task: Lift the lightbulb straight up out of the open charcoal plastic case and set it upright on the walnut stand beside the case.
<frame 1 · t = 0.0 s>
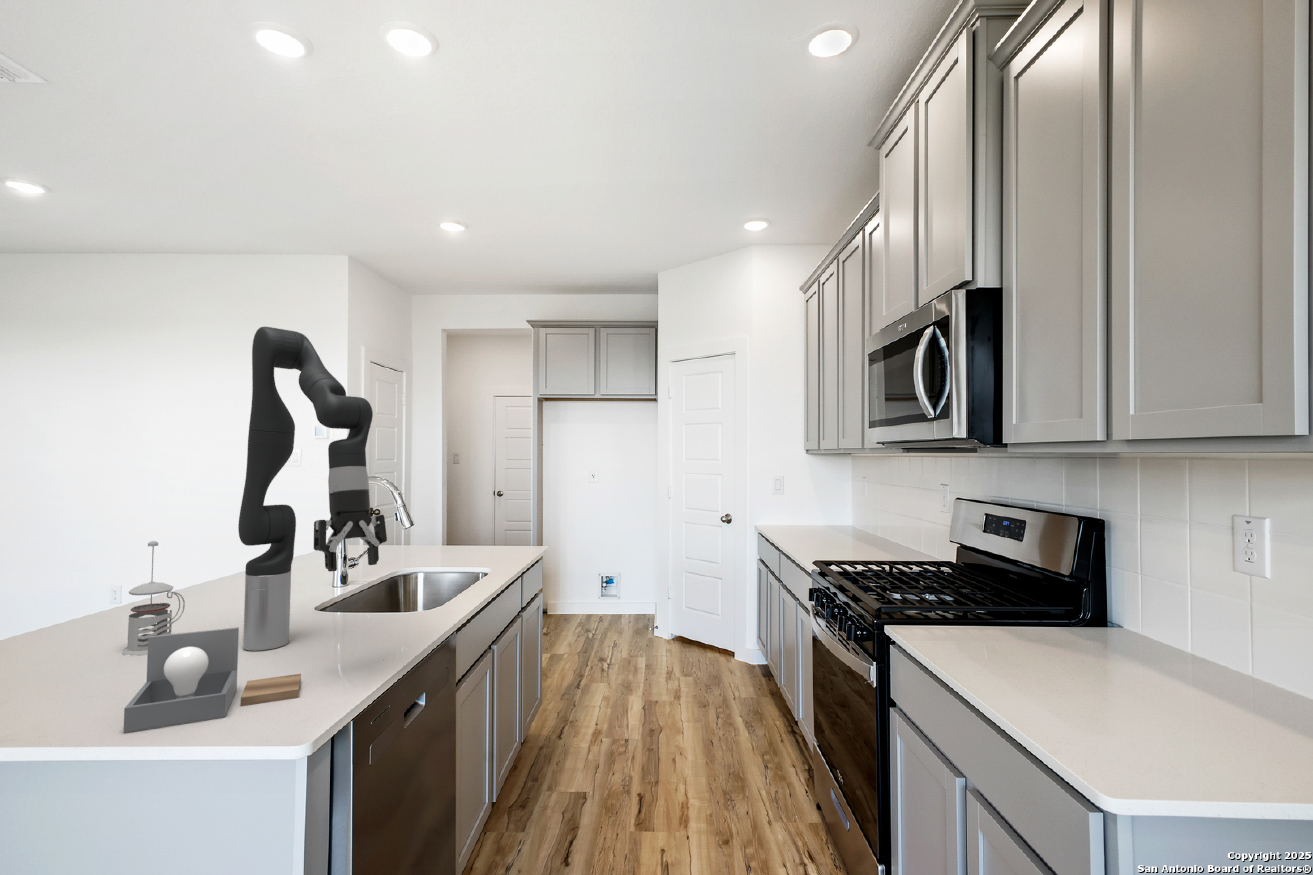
hand: (353, 567, 124), 22 cm above the worktop, tool pointing down, fingers open, 8 cm apart
stand: (272, 692, 115), on the worktop
french press: (153, 648, 141), on the worktop
lightbulb: (184, 710, 107), resting in case
case: (184, 709, 107), on the worktop
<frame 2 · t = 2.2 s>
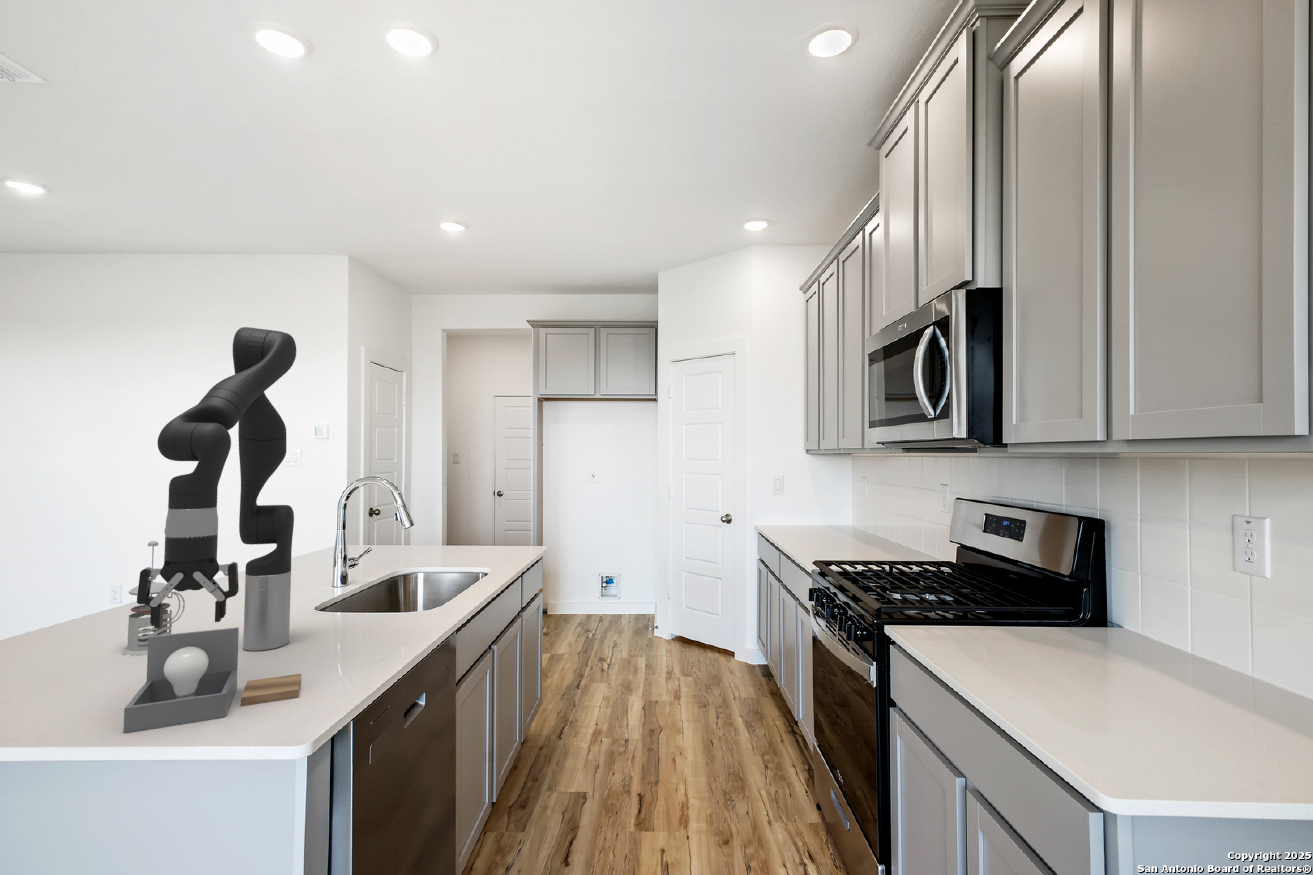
hand: (188, 624, 108), 15 cm above the worktop, tool pointing down, fingers open, 8 cm apart
nothing on the worktop moved.
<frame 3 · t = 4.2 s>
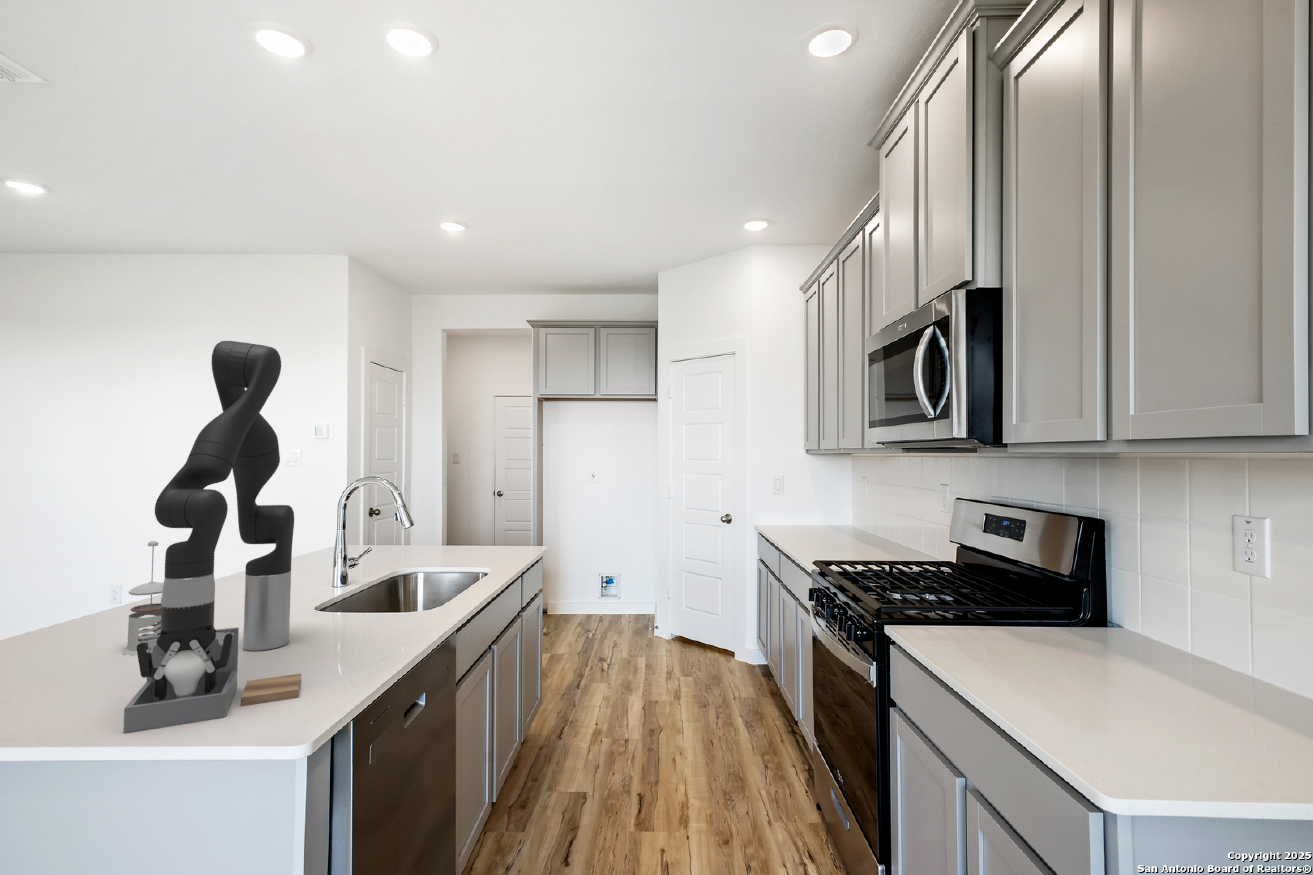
hand: (185, 694, 107), 3 cm above the worktop, tool pointing down, fingers closed on lightbulb, 6 cm apart
lightbulb: (184, 710, 107), resting in case, touching gripper
everything else where it was.
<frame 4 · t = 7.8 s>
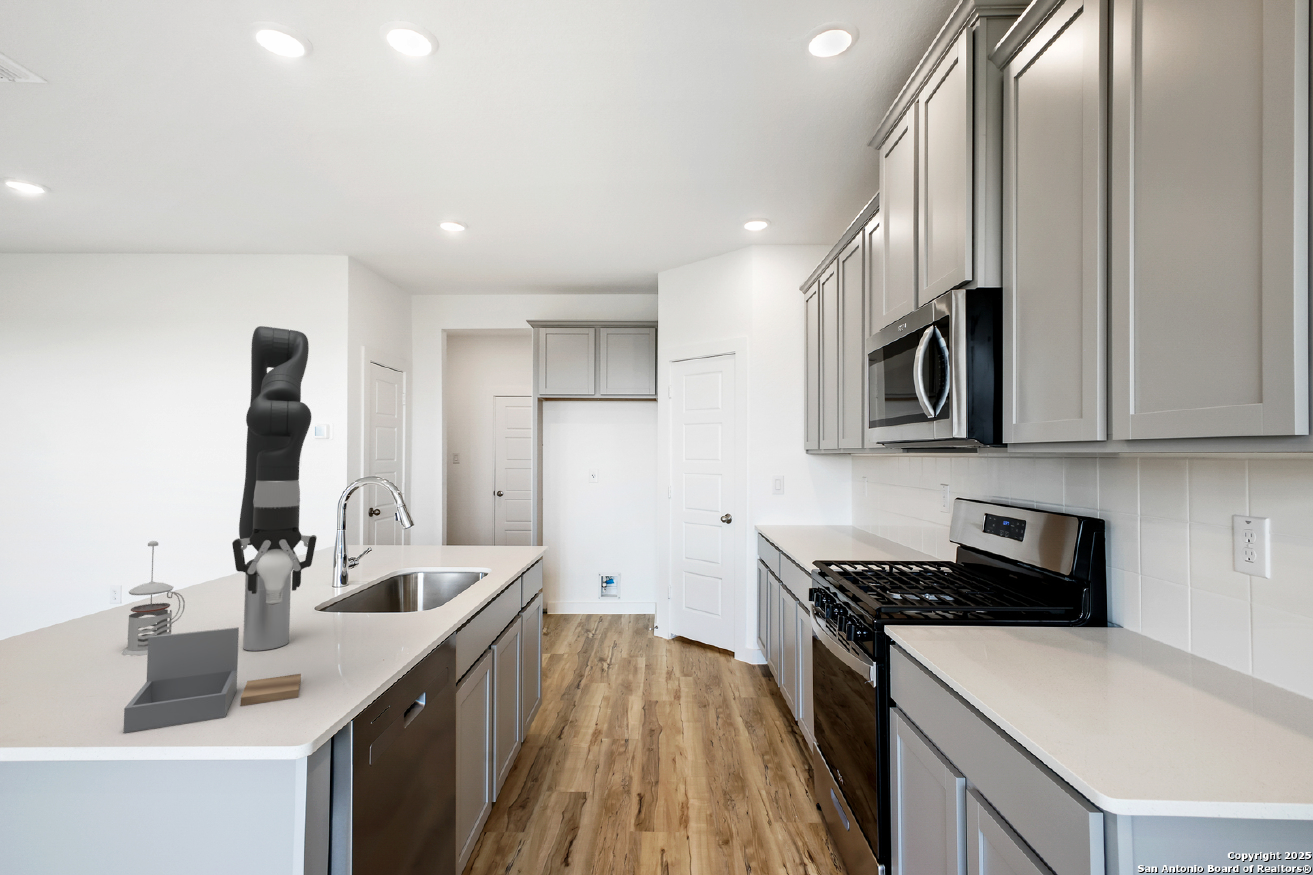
hand: (274, 591, 116), 19 cm above the worktop, tool pointing down, fingers closed on lightbulb, 6 cm apart
lightbulb: (274, 605, 116), point 17 cm above the worktop, touching gripper
everything else where it was.
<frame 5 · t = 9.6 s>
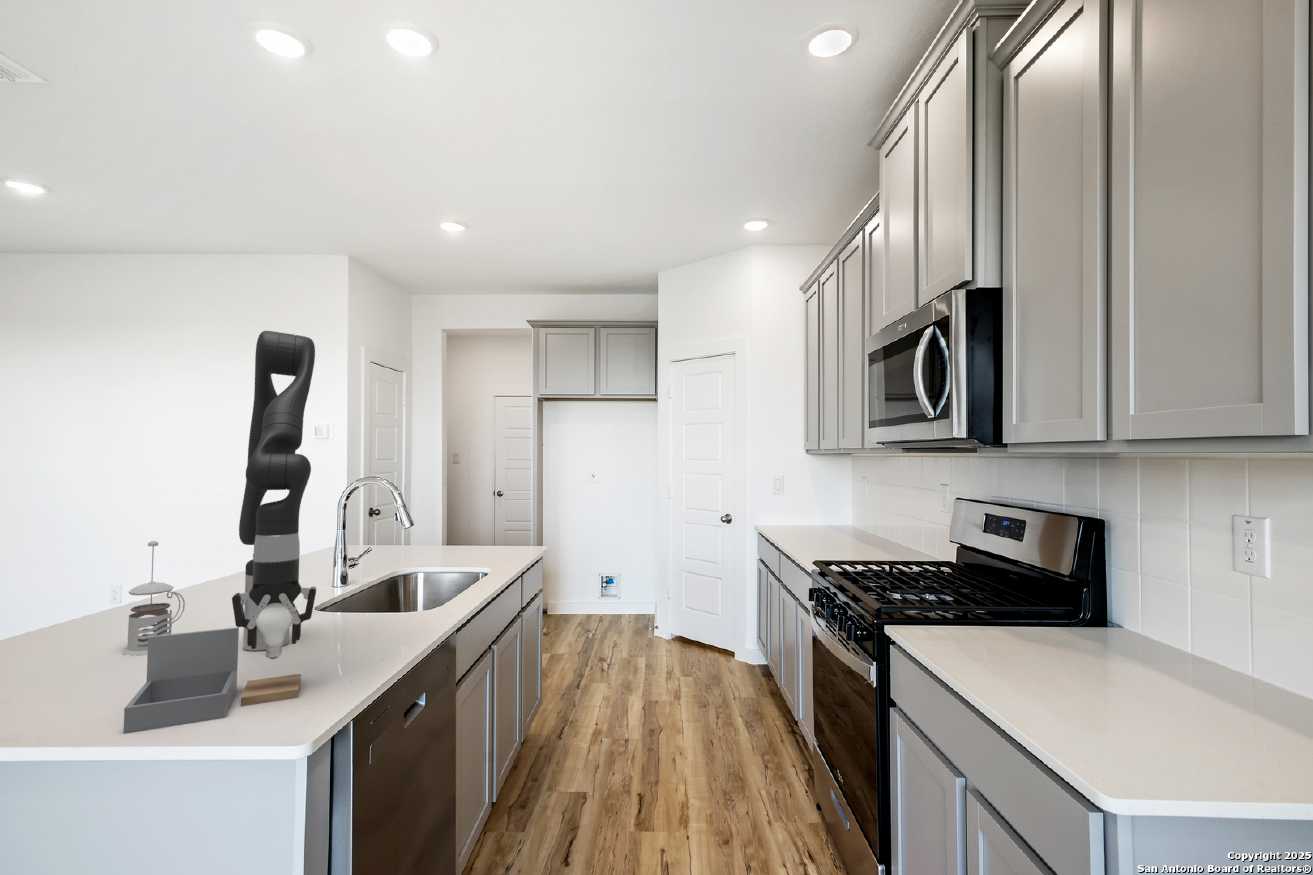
hand: (274, 644, 115), 9 cm above the worktop, tool pointing down, fingers closed on lightbulb, 6 cm apart
lightbulb: (273, 659, 115), point 6 cm above the worktop, touching gripper
everything else where it was.
when the fingers open (5 cm above the worktop, at t = 11.3 s): lightbulb drops 1 cm, resting on stand.
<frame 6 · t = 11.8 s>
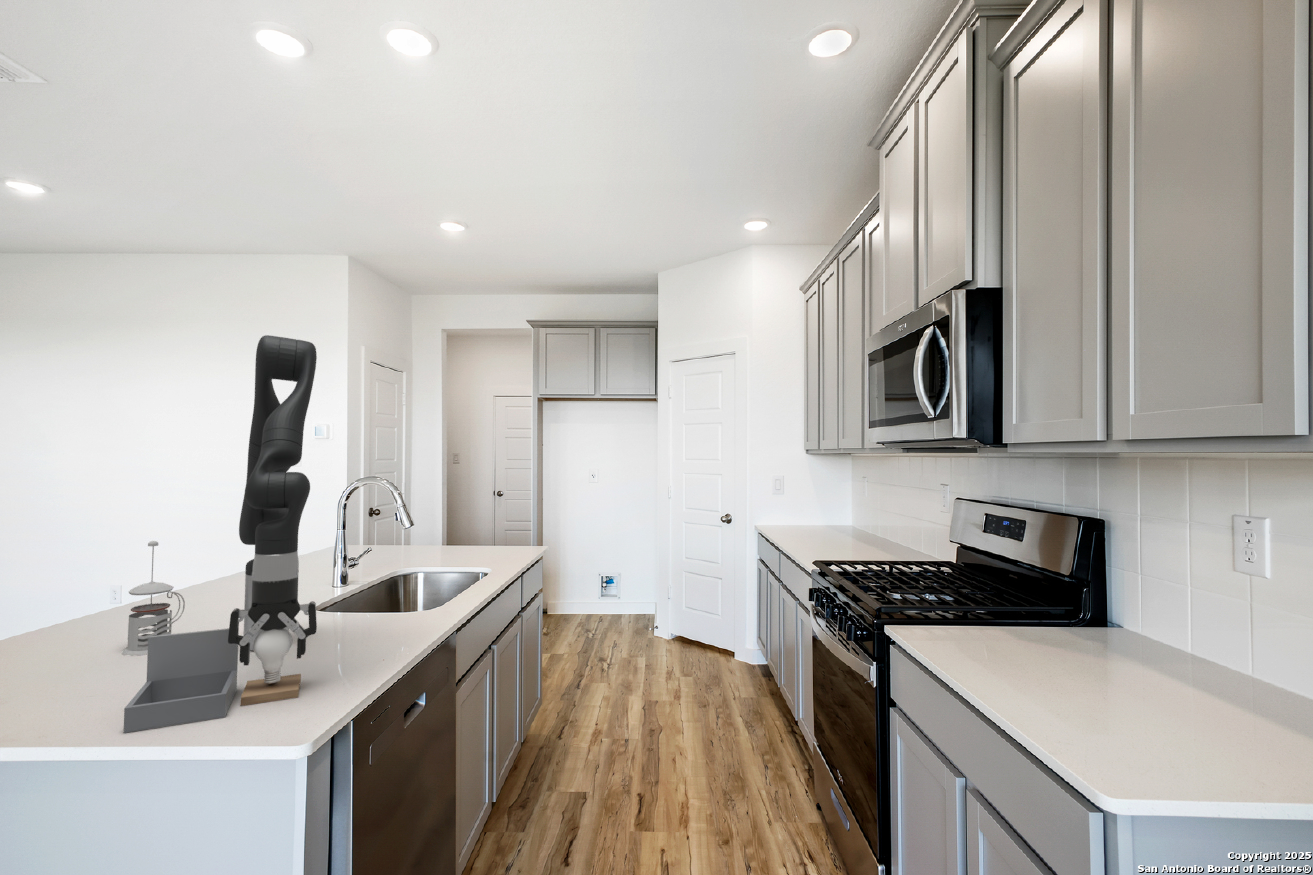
hand: (273, 660, 115), 6 cm above the worktop, tool pointing down, fingers open, 8 cm apart
lightbulb: (272, 685, 115), point 1 cm above the worktop, touching stand
everything else where it was.
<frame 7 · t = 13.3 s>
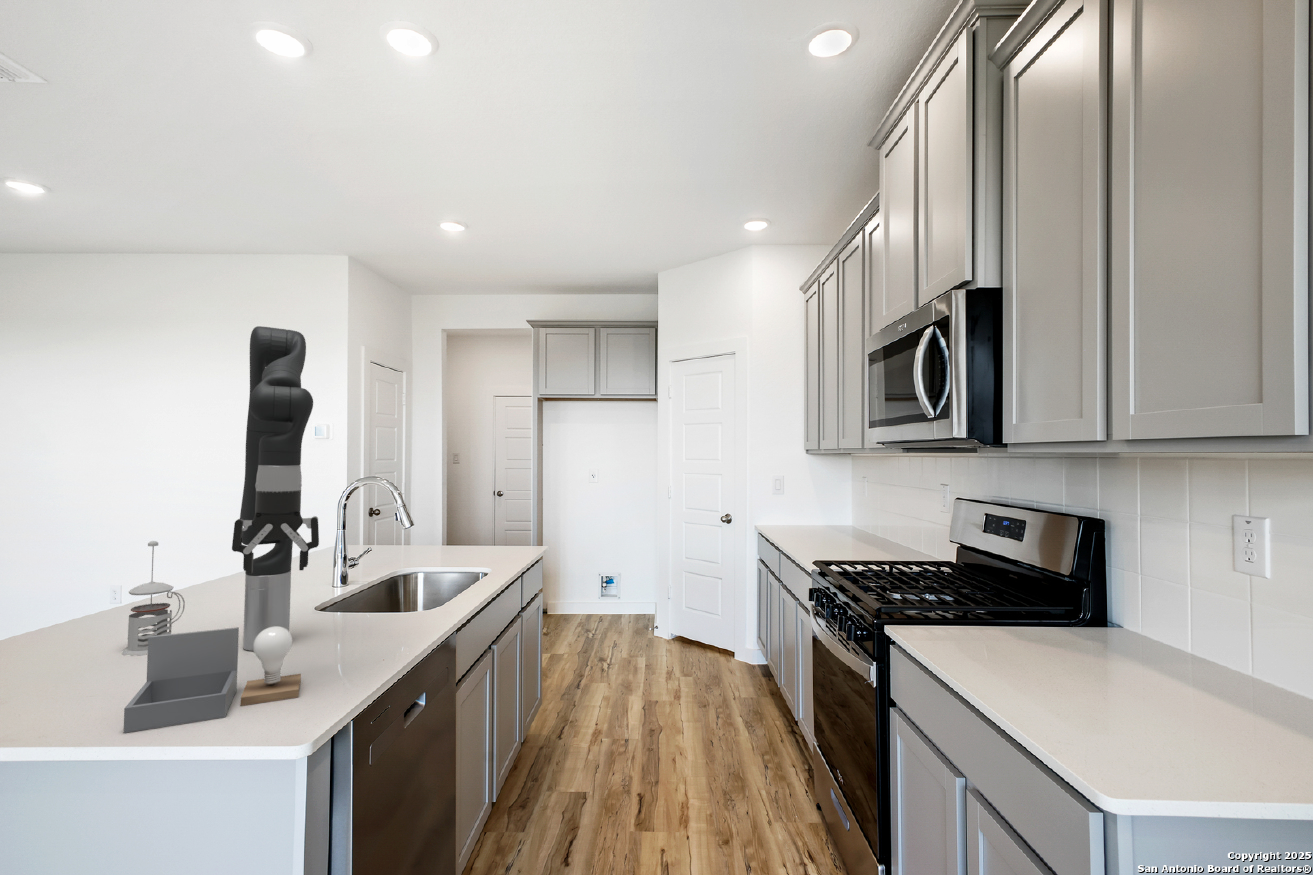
hand: (276, 571, 117), 23 cm above the worktop, tool pointing down, fingers open, 8 cm apart
nothing on the worktop moved.
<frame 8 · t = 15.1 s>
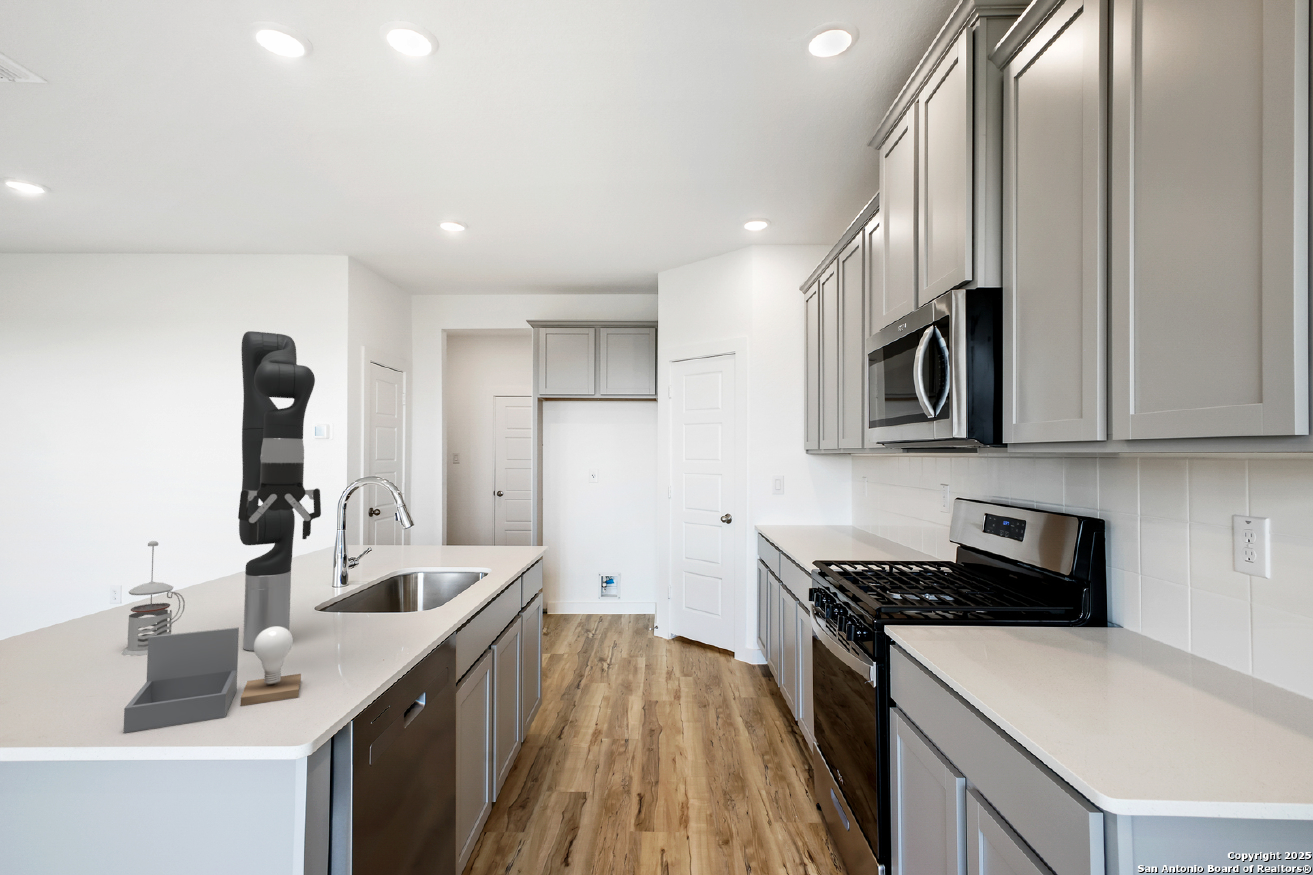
hand: (280, 540, 123), 28 cm above the worktop, tool pointing down, fingers open, 8 cm apart
nothing on the worktop moved.
at the end: lightbulb 0.3 cm off-centre on the stand, point 1.3 cm above the stand's base; lightbulb tilted 0°; the gripper is holding nothing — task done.
